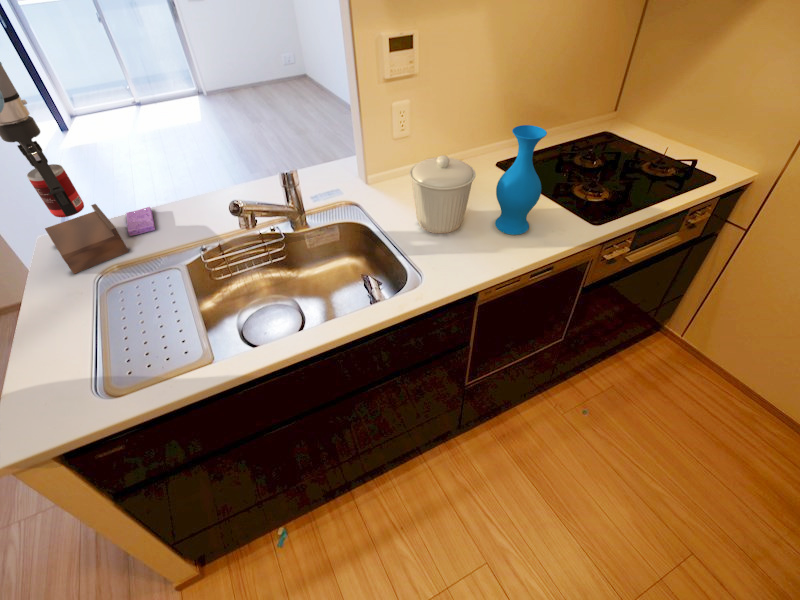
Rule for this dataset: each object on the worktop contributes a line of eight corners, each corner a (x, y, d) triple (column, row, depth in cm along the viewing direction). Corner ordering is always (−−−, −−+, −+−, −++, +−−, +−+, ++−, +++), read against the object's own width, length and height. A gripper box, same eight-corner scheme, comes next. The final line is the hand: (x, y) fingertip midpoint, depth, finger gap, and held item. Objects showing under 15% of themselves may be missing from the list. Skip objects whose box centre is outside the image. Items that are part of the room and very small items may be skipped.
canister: (467, 208, 133) (474, 142, 119) (472, 241, 120) (481, 171, 106) (409, 208, 134) (409, 142, 120) (408, 241, 121) (408, 171, 106)
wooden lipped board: (74, 274, 112) (56, 249, 107) (56, 246, 122) (40, 222, 117) (129, 251, 119) (115, 227, 114) (108, 227, 129) (95, 203, 124)
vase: (491, 237, 121) (506, 140, 103) (490, 214, 131) (503, 121, 112) (534, 239, 120) (558, 142, 101) (530, 216, 130) (550, 122, 111)
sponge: (130, 236, 125) (127, 231, 124) (128, 217, 133) (125, 211, 132) (155, 230, 127) (153, 225, 126) (152, 211, 135) (149, 206, 134)
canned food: (81, 199, 116) (59, 161, 109) (88, 211, 112) (65, 171, 104) (49, 209, 113) (24, 170, 105) (55, 221, 108) (28, 181, 101)
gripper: (41, 127, 92) (94, 217, 108) (21, 104, 104) (72, 189, 119) (0, 136, 89) (61, 229, 104) (-16, 112, 100) (41, 199, 115)
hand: (67, 207), depth 112 cm, fingers closed on canned food, 8 cm apart
